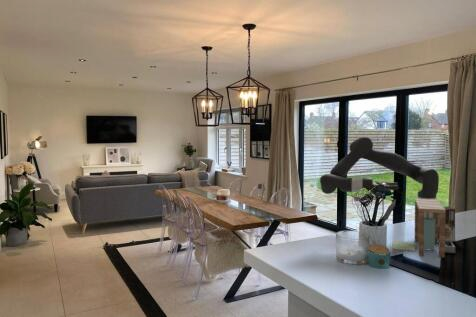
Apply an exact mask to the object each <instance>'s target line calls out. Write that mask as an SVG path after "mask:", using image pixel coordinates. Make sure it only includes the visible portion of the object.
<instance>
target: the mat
mask: <svg viewBox="0 0 476 317" xmlns="http://www.w3.org/2000/svg"><path fill="white" fill-rule="evenodd" d="M392 244H393V246H392V247H393V250H398V251H399V250H401V251H408V250H411V252H416V248H415V245H414V242H410V241H395V240H393V241H392Z"/></svg>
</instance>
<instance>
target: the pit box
mask: <svg viewBox="0 0 476 317" xmlns="http://www.w3.org/2000/svg"><path fill="white" fill-rule="evenodd" d="M453 242H454V241H445V254H453V255H454V254H456V245H455V244H454V243H453Z"/></svg>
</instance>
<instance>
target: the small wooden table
mask: <svg viewBox="0 0 476 317" xmlns="http://www.w3.org/2000/svg"><path fill="white" fill-rule="evenodd" d="M424 212H433V218H434V219H435V244H438V257H439V258H446V257H445V256H446V253H445V208H444V207H443V204H442V203H441V202H440V200H439V199H436V200H435V199H418V198H415V199H414V242H417V244H418V251H417V252H418V256H422V257H424V256H425V250H424ZM438 213H439V241H438Z"/></svg>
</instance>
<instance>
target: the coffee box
mask: <svg viewBox="0 0 476 317" xmlns="http://www.w3.org/2000/svg"><path fill="white" fill-rule="evenodd" d="M442 206H443V205H442ZM443 207H444V208H445V241H452V242H455V241H456V208H454V207H451V206H448V205H447V206H443ZM431 218H433V212H431ZM438 242H439V213H438Z"/></svg>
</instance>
